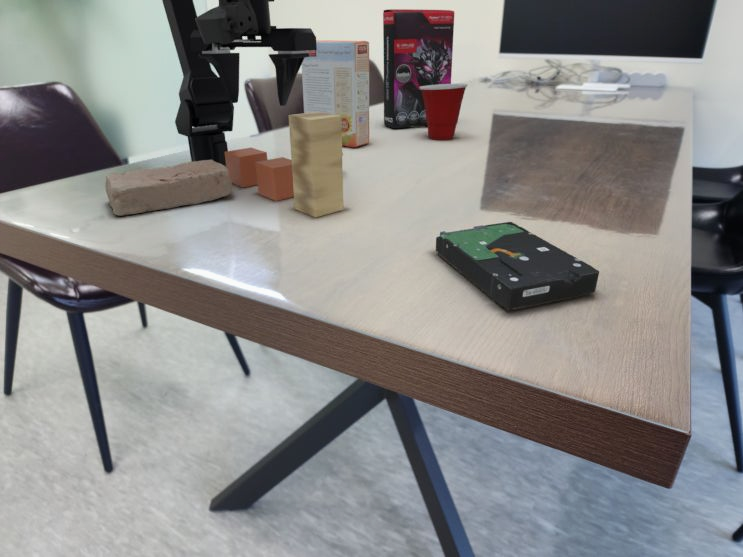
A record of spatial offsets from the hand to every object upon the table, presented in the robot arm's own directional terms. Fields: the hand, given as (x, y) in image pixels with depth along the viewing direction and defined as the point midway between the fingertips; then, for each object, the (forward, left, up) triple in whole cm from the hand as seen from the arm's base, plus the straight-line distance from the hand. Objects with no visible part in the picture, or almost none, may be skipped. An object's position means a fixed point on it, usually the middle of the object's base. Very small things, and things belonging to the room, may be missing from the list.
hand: (258, 104), depth 76 cm
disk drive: (+43, -12, -13) cm, 46 cm away
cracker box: (-9, +36, -13) cm, 40 cm away
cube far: (-5, +2, -13) cm, 14 cm away
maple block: (+13, -5, -13) cm, 19 cm away
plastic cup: (+9, +53, -13) cm, 55 cm away
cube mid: (+4, -1, -13) cm, 14 cm away
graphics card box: (-3, +65, -13) cm, 67 cm away
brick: (-8, -12, -13) cm, 20 cm away
